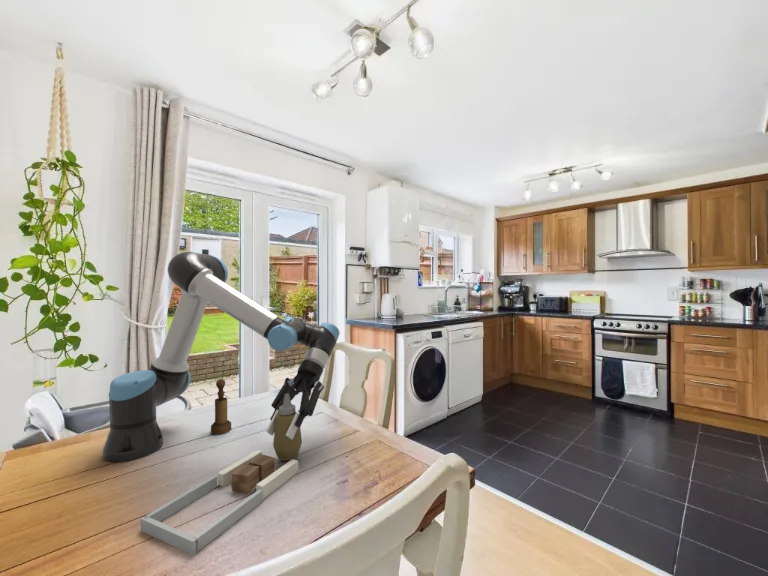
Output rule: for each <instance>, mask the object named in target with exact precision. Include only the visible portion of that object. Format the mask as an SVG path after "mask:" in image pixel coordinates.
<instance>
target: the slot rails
mask: <svg viewBox="0 0 768 576" xmlns="http://www.w3.org/2000/svg"><path fill="white" fill-rule="evenodd" d="M261 454H263V451H260V450H255V451H253V452H251V453H250V454H248V455H246V456H245V457H243V458H241V459H239V460H238V461H236V462H234V463H232V464H230V465H228V466H227V467H226V468H223V469H222V470H220V471H219V472H217V486H220V487H225V486H227V485H228V484H230V483H232V473H233V472H234V471H236V470H237V469H238V468H240V467H241V466H242V465H243V464H245V465H249V462H250V461H251V460H253V459H255V458H256V457H258V456H260V455H261ZM298 473H299V460H296V459H294V458H293V459H290V460H288V462H286V463H285V464H283V465H282V466H280V467H279V468H278V469H275V472H274V473H272V474H271V475H269V476H268V477H266V478H265V479H264V480H262V481H261V482H259V483H258V484H256V487H255V492H257V491H258V490H259V489H260V490H263V500H264V499H265V498H266V497H268V496H269V495H271V494H272V493H273V492H274V491H275V490H277V489H278V488H280V487H281V486H282V485H283V484H285V483H286V482H287V481H289V480H291V478H293V477H294V476H295V475H296V474H298Z"/></svg>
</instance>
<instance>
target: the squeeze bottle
mask: <svg viewBox="0 0 768 576" xmlns="http://www.w3.org/2000/svg"><path fill="white" fill-rule="evenodd" d="M296 413H298V411H296V405H295V404H292V400H290V396H289V394H285V396H284V401H283V405H282V406H280V407H279V414H278V415H277V416H276V419H275V431H274V434H273V443H272V445H273V446H272V447H273V449H274V451H275V455H276V457H277V459H278V460H281V461H291V460H292V459H293V460H294V459H295V458H297V457H298V455H299V453H300V449H301V446H302V444H303V439H302V429H301V427H300V428H299V427H298V429H297V431H296V433H295V435H294V437H293V440H291V439H289V438H288V437H287V436H286V433H287V431H288V429H289V427H290V425H291V423H292V421H293V418H294V416H295V414H296Z"/></svg>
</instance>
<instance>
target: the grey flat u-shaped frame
mask: <svg viewBox="0 0 768 576" xmlns="http://www.w3.org/2000/svg"><path fill="white" fill-rule="evenodd" d="M217 487H218V475H213V476H211V477H210V478H208V479H206V480H205V481H203V482H201V483H200V484H197V485H195V486H193V487H192V488H190V489H189V490H187V491H186V492H184V493H182V494H180V495H179V496H177V497H175V498H174V499H172V500H170V501H169V502H167V503H164V504H163V505H161V506H160V507H158V508H156V509H155V510H153V511H151V512H150V513H148V514H146V515H144V516H143V517H141V518H140V532H142V533H144V534H147V535H149V536H151V537H153V538H155V539H157V540H160V541H161V542H164V543H165V544H168V545H170V546H172V547H173V548H174V547H175V548H176V549H178V550H181V551H182V552H186V553H188V554H189V555H191V556H195V555H196V554H197V553H198V552H200V550H202V549H203V548H205V547H206V546H207V545H208V544H210V543H211V542H212V541H214V540H215V539H216V538H217V537H219V536H220V535H221V534H222V533H224V532H225V531H226V530H227V529H229V528H230V527H231V526H233V525H234V524H235V523H237V522H238V521H239V520H241V519H242V518H243V517H244V516H246V515H247V514H248V513H250V511H252V510H254V508H256V507H257V506H259V505H260V504H261V503H263V500H264V499H263V490H260V489H259V490H258V491H257V492H256V491H254V493H252V494H251V495H250V496H248V497H247V498H246V499H244V500H243V501H241V502H240V503H239V504H237V505H235V507H233V508H232V509H230V510H229V511H228V512H226V513H225V514H224V515H222V516H221V517H219V518H218V519H217V520H215V521H214V522H212V523H211V524H209V525H208V526H207V527H205V528H204V529H203V530H202V531H200V532H198V533H197V534H196V535H191V534H189V533H186V531H183V530H181V529H178V528H175V527H173V526H171V525H168V524H165V523H163V522H162V521H164V520H166V519H167V518H169V517H171V516H172V515H174V514H175V513H177V512H178V511H180V510H182V509H183V508H185V507H186V506H188V505H190V504H192V503H193V502H195V501H196V500H199V498H201V497H203V496H204V495H206V494H207V493H209V492H211V491H212V490H214V489H215V488H217Z"/></svg>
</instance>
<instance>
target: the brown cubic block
mask: <svg viewBox="0 0 768 576" xmlns="http://www.w3.org/2000/svg"><path fill="white" fill-rule="evenodd" d="M275 462H276V461H275V457H273V456H270V455H266V454H263V453H262V454H261V455H260V456H258V457H256V458H255V459H253V460H251V461H250V462H249V465H252V466H259V482H261V481H262V480H264V479H265V478H266V477H268V476H269V475H271V474H272V473H274V472H275V471H276V468H275V466H276V465H275Z"/></svg>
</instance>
